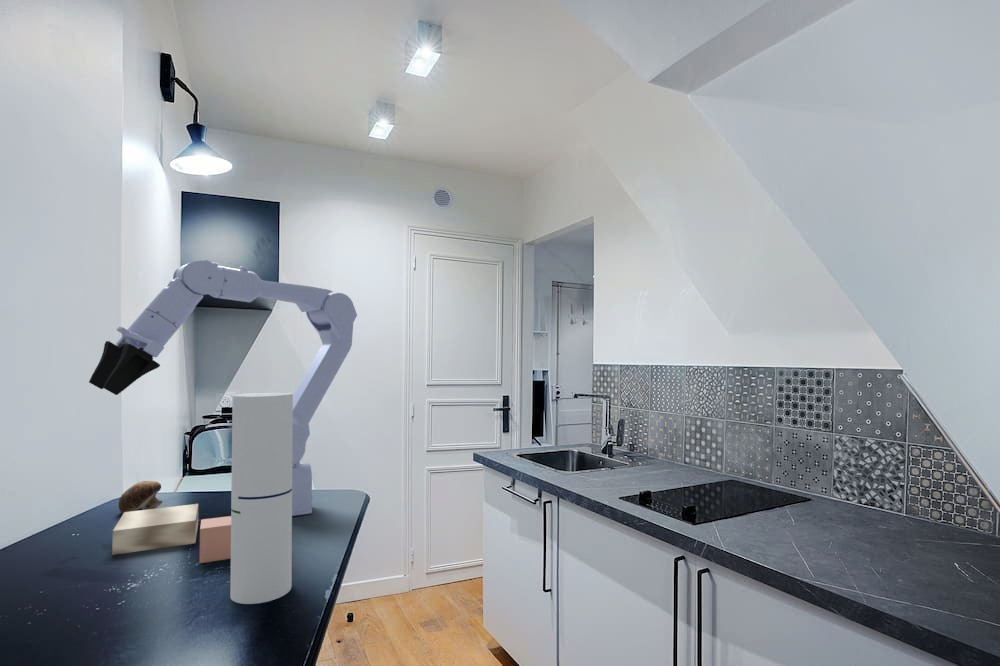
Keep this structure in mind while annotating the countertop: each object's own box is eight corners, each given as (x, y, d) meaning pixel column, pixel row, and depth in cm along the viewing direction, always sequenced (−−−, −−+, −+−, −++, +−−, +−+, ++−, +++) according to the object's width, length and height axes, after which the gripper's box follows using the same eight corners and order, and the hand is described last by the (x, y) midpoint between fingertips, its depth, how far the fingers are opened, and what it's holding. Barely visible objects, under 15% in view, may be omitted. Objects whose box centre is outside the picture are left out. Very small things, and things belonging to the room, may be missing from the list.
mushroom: (180, 489, 110) (158, 466, 108) (153, 515, 102) (129, 491, 101) (153, 505, 112) (131, 483, 110) (125, 532, 104) (101, 509, 103)
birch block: (198, 526, 98) (198, 503, 98) (195, 545, 88) (195, 520, 88) (124, 536, 93) (124, 512, 93) (112, 557, 83) (112, 530, 83)
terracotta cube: (237, 547, 86) (237, 515, 86) (237, 557, 82) (238, 524, 82) (200, 552, 84) (201, 519, 84) (199, 563, 80) (199, 528, 80)
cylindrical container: (269, 606, 66) (271, 396, 67) (217, 601, 67) (219, 396, 68) (302, 581, 73) (303, 392, 74) (254, 577, 74) (256, 392, 75)
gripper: (124, 304, 94) (65, 370, 88) (155, 305, 85) (90, 379, 79) (161, 328, 98) (106, 393, 93) (194, 332, 89) (135, 404, 83)
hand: (102, 388), depth 86 cm, fingers open, 7 cm apart
